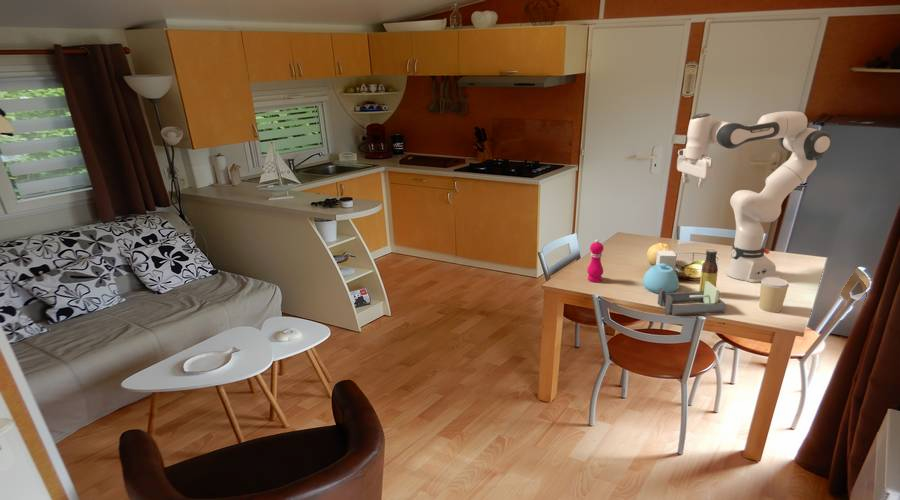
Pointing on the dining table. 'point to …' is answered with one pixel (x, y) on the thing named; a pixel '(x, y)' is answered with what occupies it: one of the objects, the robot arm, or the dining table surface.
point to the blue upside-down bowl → (661, 279)
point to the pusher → (708, 293)
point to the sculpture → (653, 252)
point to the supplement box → (666, 258)
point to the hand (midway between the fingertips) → (692, 185)
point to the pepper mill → (595, 262)
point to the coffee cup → (772, 294)
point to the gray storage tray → (688, 308)
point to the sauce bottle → (709, 269)
